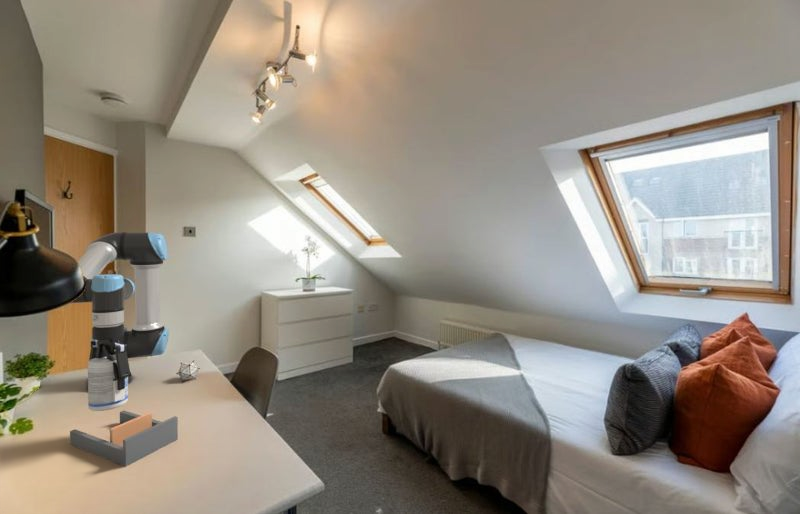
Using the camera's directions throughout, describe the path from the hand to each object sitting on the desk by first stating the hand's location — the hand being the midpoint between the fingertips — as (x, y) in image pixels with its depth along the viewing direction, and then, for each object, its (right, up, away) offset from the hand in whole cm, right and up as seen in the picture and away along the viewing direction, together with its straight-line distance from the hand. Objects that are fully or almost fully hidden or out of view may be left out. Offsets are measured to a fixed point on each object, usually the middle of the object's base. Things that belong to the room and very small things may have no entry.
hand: (108, 396), depth 108 cm
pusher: (+11, -13, -4) cm, 17 cm away
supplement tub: (0, -3, 0) cm, 3 cm away
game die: (-4, -11, +47) cm, 48 cm away
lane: (+6, -13, -2) cm, 14 cm away
